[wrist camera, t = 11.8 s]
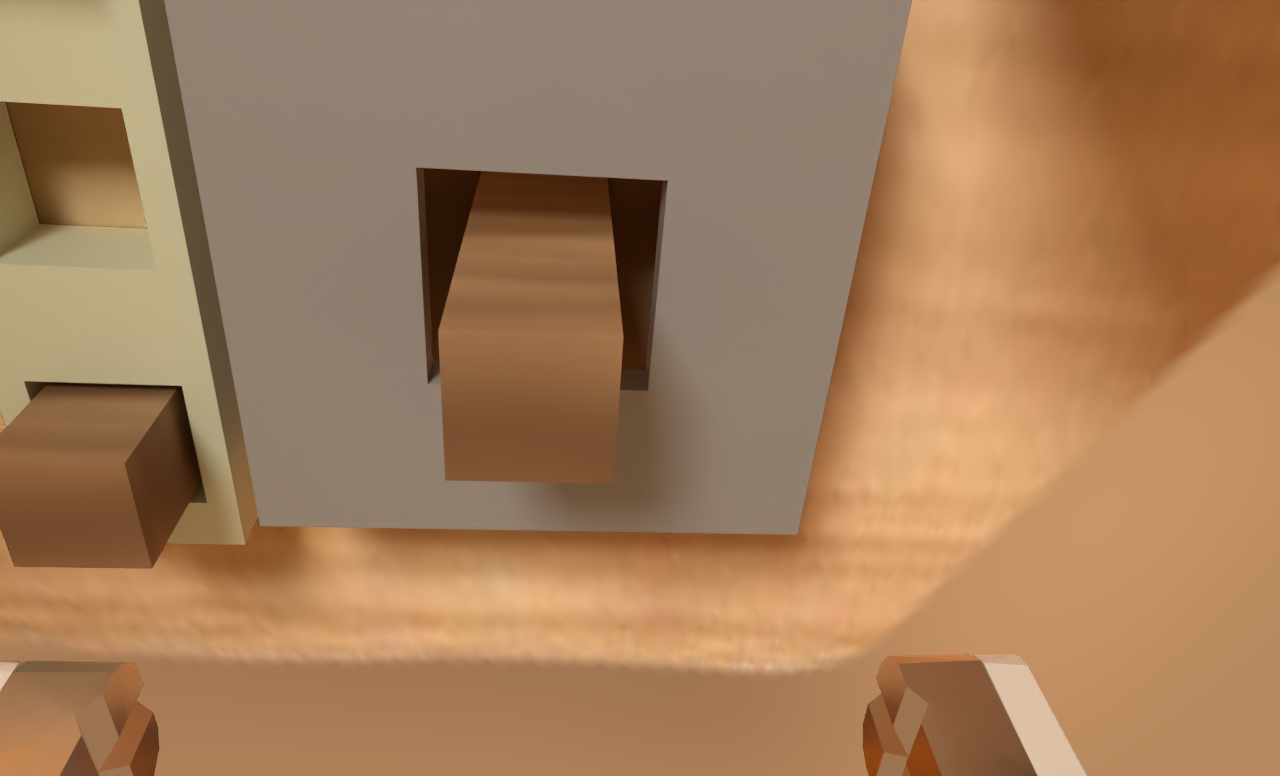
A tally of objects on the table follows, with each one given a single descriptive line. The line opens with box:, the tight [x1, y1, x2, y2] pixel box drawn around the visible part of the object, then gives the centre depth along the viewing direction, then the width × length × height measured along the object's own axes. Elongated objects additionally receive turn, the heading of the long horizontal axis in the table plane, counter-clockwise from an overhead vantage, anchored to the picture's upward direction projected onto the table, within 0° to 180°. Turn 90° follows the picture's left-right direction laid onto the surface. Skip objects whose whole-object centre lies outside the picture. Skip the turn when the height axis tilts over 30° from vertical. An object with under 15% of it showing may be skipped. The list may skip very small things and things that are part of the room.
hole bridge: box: [164, 0, 912, 535], centre depth 22 cm, size 14×14×4 cm
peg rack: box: [0, 0, 258, 545], centre depth 21 cm, size 21×5×2 cm, turn 176°
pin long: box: [438, 171, 624, 484], centre depth 20 cm, size 3×3×9 cm
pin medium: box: [0, 382, 202, 568], centre depth 24 cm, size 3×3×6 cm
